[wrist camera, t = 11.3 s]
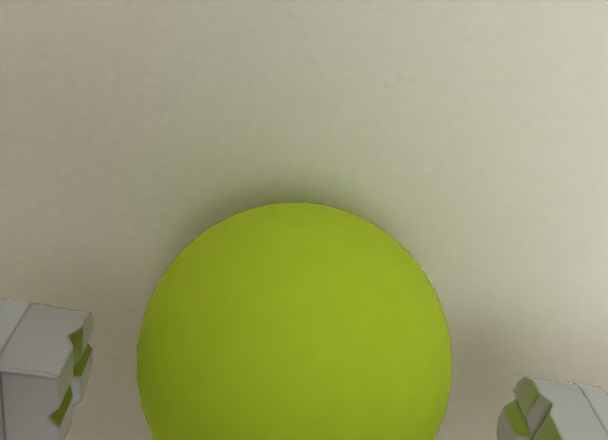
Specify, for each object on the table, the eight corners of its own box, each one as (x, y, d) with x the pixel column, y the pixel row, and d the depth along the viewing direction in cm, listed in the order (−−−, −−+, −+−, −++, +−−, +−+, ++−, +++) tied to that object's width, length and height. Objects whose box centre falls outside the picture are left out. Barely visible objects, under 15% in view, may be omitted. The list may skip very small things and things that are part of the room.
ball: (156, 340, 15) (89, 583, 10) (182, 128, 12) (104, 314, 7) (377, 371, 16) (423, 610, 11) (451, 179, 13) (565, 381, 8)
